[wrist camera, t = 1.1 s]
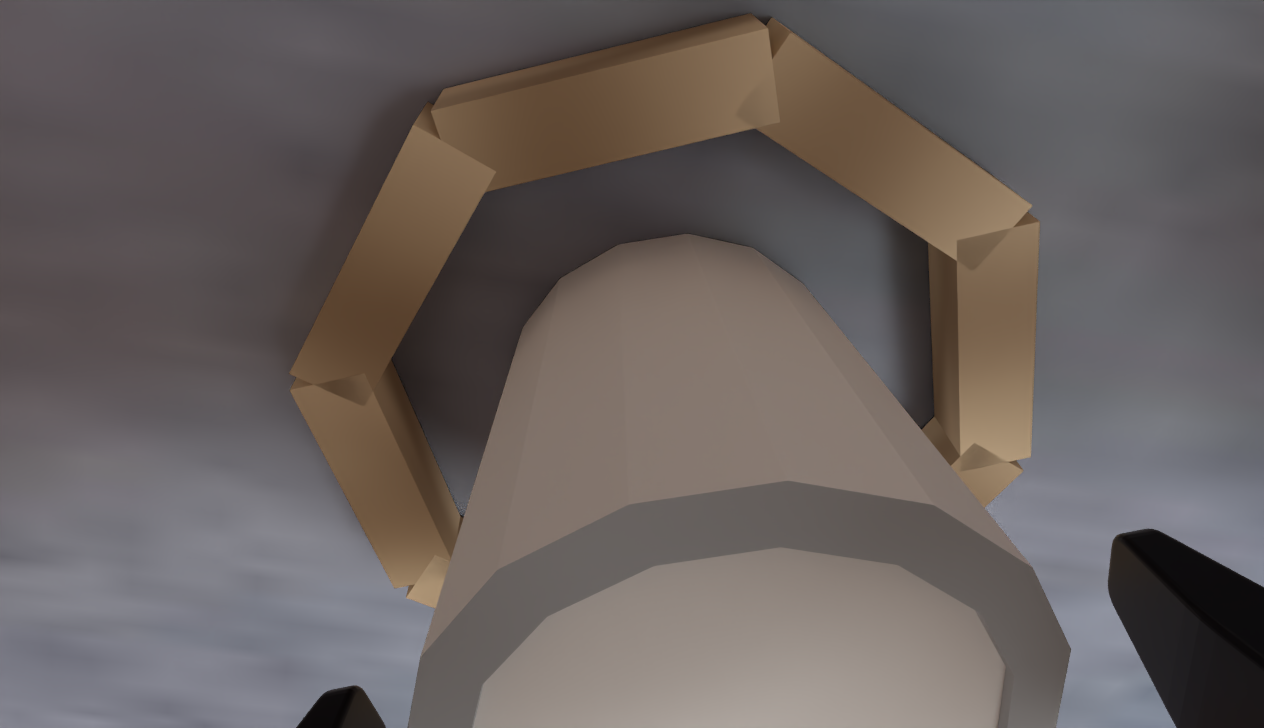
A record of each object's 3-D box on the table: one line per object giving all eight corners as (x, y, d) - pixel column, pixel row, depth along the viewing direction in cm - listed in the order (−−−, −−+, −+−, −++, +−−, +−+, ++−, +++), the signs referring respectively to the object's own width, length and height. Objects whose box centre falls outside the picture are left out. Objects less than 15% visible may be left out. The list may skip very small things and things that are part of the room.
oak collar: (1006, -51, 11) (1050, -41, 10) (998, 552, 17) (1025, 597, 16) (209, 146, 12) (174, 173, 11) (464, 659, 18) (457, 708, 17)
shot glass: (747, 570, 17) (839, 955, 11) (421, 467, 15) (320, 862, 9) (948, 294, 14) (1228, 620, 8) (570, 122, 12) (565, 378, 6)
